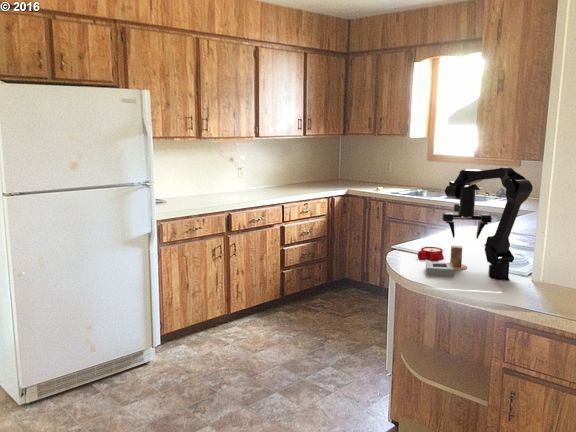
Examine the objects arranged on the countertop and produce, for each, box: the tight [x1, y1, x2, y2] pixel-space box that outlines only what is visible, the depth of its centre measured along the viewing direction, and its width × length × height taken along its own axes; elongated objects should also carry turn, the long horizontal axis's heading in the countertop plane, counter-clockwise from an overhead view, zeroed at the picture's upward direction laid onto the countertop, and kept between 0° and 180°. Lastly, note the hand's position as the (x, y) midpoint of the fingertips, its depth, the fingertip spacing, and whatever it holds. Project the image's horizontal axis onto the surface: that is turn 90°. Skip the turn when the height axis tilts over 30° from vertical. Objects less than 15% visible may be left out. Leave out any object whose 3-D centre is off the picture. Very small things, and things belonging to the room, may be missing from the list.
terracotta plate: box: [453, 263, 468, 271], centre depth 216 cm, size 9×9×1 cm
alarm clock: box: [417, 246, 445, 262], centre depth 232 cm, size 10×6×15 cm
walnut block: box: [449, 245, 463, 267], centre depth 215 cm, size 4×4×8 cm
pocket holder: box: [425, 261, 455, 278], centre depth 208 cm, size 10×10×4 cm
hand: (465, 238), depth 217 cm, fingers open, 9 cm apart
